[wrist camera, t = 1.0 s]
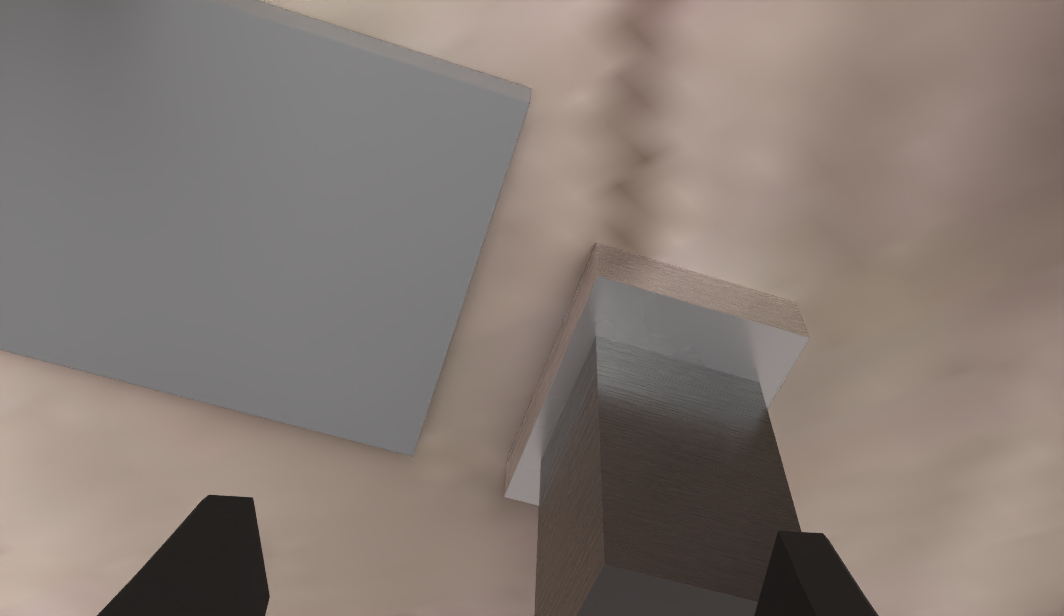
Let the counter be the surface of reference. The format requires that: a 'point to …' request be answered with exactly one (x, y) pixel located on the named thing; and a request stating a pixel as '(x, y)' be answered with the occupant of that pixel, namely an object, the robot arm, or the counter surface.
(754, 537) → the metal post with plate
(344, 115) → the slate board
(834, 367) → the counter surface
